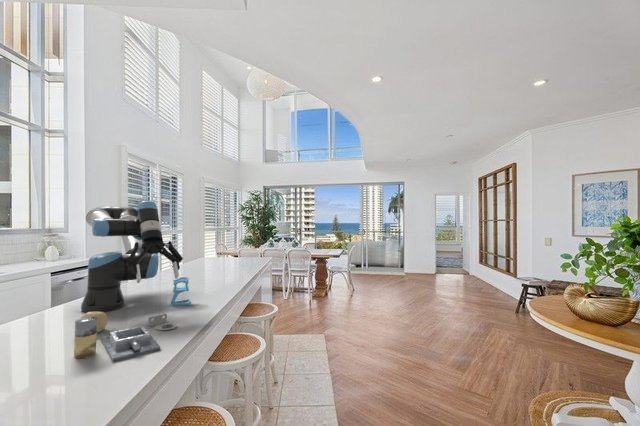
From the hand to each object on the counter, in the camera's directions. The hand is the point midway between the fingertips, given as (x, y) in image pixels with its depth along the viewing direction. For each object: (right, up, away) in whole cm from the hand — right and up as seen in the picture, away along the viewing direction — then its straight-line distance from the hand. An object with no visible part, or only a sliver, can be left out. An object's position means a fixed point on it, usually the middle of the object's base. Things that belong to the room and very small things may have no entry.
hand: (158, 279), depth 118 cm
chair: (-1, -16, +20) cm, 25 cm away
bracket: (+6, -16, -8) cm, 19 cm away
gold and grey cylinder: (-4, -15, -32) cm, 35 cm away
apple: (-14, -15, -15) cm, 26 cm away
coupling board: (+4, -15, -24) cm, 29 cm away
